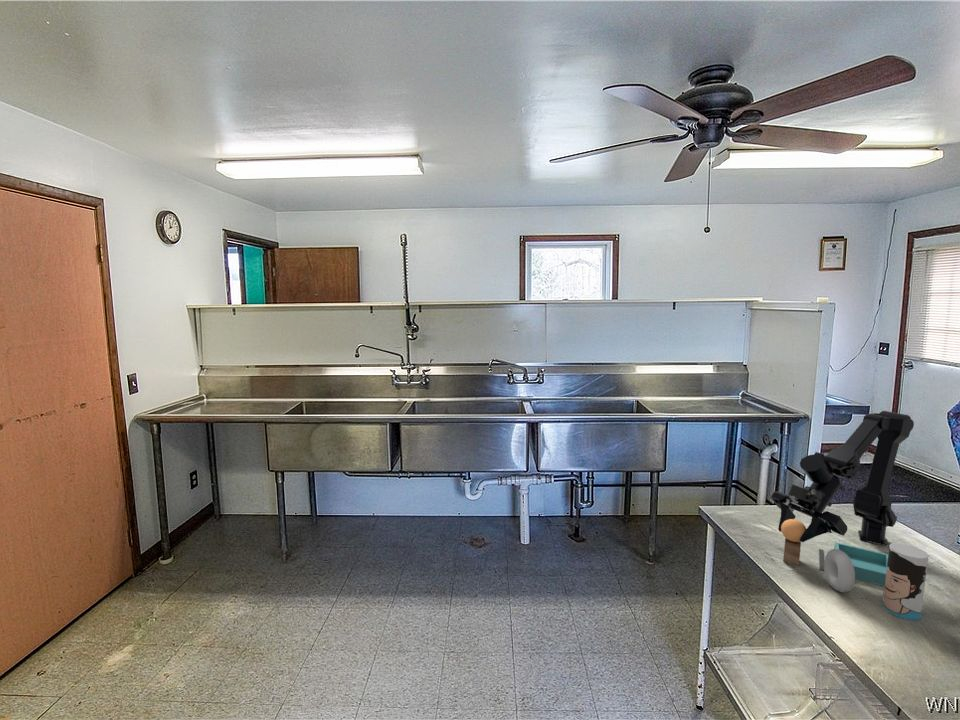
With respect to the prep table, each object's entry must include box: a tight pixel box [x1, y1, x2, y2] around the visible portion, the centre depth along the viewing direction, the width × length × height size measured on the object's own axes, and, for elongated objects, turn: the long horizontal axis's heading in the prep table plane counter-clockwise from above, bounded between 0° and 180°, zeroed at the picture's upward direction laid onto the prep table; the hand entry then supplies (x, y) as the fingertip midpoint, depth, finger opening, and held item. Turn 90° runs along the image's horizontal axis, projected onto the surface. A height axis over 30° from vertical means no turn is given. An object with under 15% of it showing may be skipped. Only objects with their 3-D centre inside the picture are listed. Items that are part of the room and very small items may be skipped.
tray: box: [833, 541, 889, 587], centre depth 129 cm, size 13×12×3 cm
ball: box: [781, 518, 807, 542], centre depth 132 cm, size 6×6×6 cm
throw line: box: [818, 548, 825, 572], centre depth 134 cm, size 13×1×1 cm, turn 145°
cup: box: [882, 542, 930, 621], centre depth 111 cm, size 7×7×15 cm
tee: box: [782, 537, 802, 567], centre depth 133 cm, size 4×4×6 cm
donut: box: [824, 548, 856, 593], centre depth 119 cm, size 10×4×10 cm, turn 168°
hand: (789, 535), depth 132 cm, fingers closed on ball, 6 cm apart
